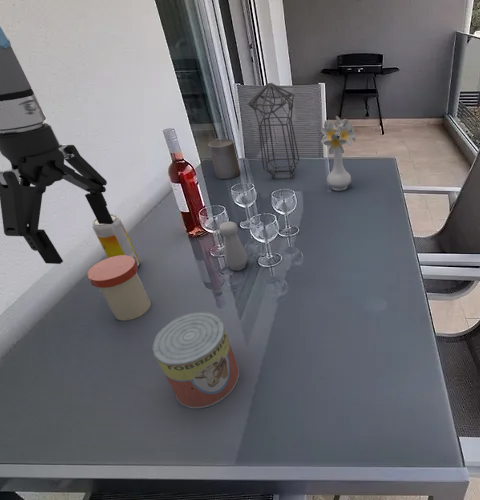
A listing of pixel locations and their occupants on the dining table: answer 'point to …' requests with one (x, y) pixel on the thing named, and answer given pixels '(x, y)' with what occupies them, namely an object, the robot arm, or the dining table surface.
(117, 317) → the jam jar
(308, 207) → the dining table surface
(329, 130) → the flower vase
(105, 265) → the lid
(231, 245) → the salt shaker
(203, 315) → the canned food
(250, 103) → the geometric lantern
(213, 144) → the pillar candle
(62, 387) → the dining table surface
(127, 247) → the beer can
